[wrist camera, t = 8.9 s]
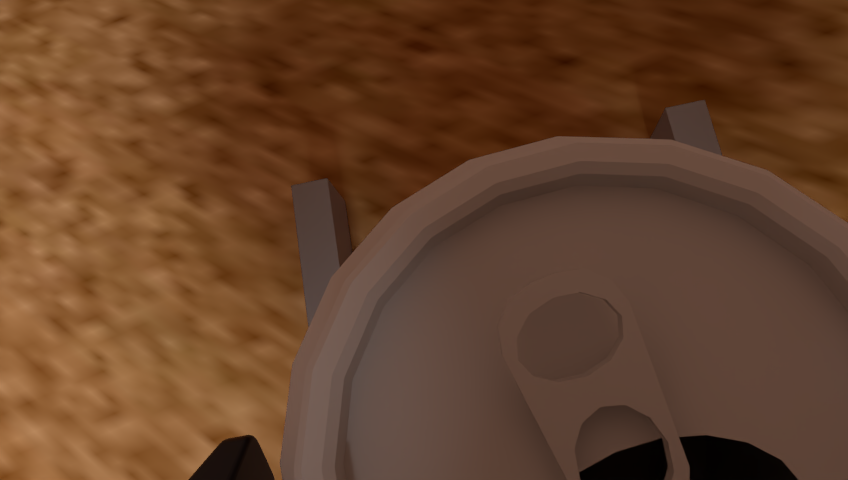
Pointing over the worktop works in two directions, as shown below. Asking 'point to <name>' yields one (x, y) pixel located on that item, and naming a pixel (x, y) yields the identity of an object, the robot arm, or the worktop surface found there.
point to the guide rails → (328, 223)
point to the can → (582, 326)
